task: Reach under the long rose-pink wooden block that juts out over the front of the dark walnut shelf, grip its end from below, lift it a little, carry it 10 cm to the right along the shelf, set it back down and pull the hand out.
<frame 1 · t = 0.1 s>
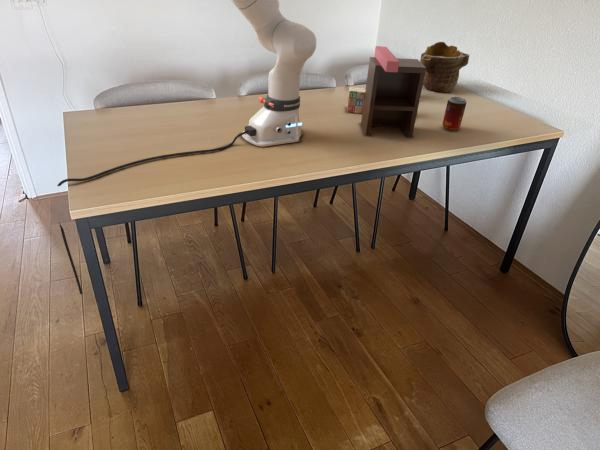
walnut shelf: (385, 130, 175), on the table
brown wicker basket: (434, 89, 226), on the table
pink block: (385, 63, 158), point 26 cm above the table, touching walnut shelf
soda can: (450, 129, 181), on the table
stack of blocks: (371, 112, 192), on the table
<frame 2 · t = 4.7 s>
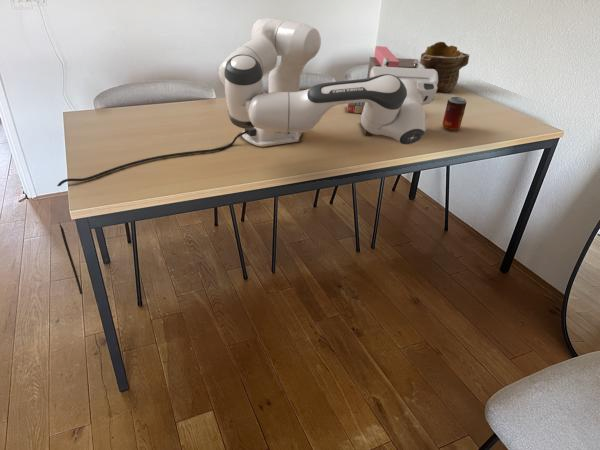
hand: (401, 60, 138), 32 cm above the table, tool pointing upward, fingers open, 8 cm apart
nothing on the table moved.
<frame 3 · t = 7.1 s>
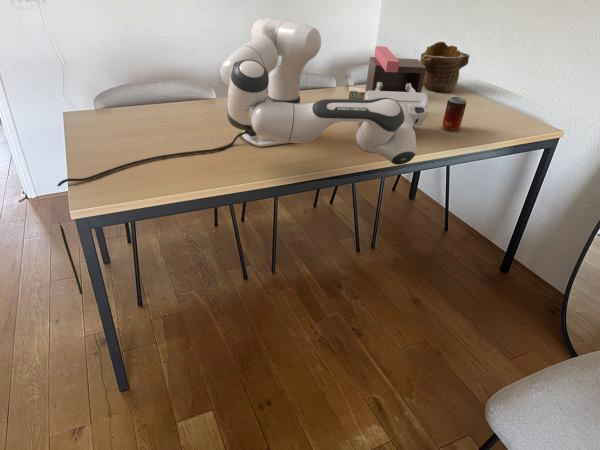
hand: (393, 84, 146), 24 cm above the table, tool pointing upward, fingers open, 8 cm apart
nothing on the table moved.
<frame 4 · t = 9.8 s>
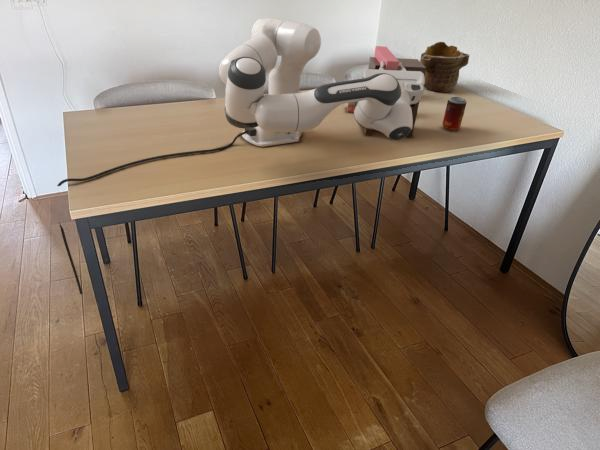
hand: (391, 63, 150), 28 cm above the table, tool pointing upward, fingers closed on pink block, 4 cm apart
pink block: (385, 63, 158), point 26 cm above the table, touching gripper
everything else where it was.
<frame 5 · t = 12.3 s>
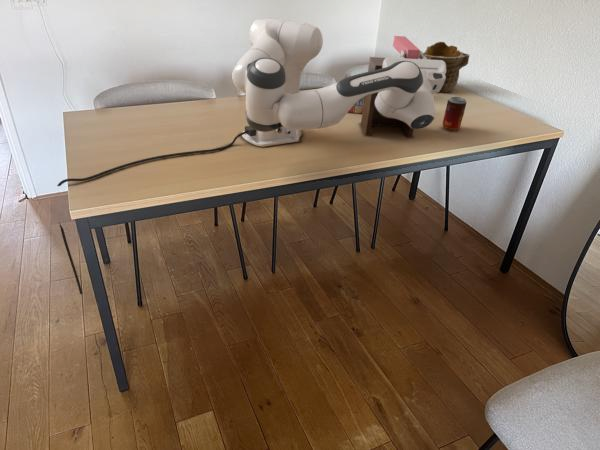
hand: (411, 52, 148), 32 cm above the table, tool pointing upward, fingers closed on pink block, 4 cm apart
pink block: (404, 53, 156), point 30 cm above the table, touching gripper
everything else where it was.
when the fingers open (28 cm above the table, at t = 14.8 s): pink block stays where it is, resting on walnut shelf.
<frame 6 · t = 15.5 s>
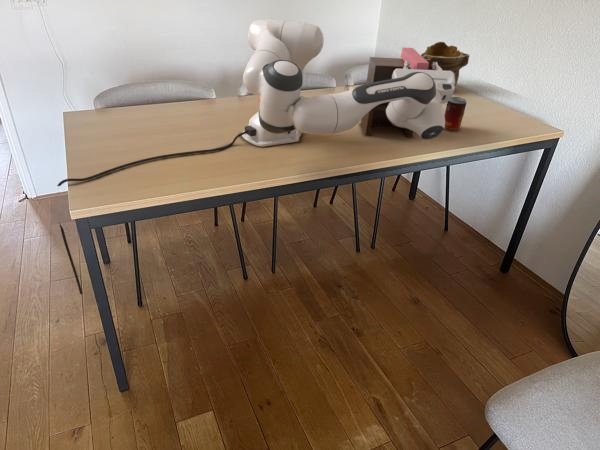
hand: (420, 62, 150), 29 cm above the table, tool pointing upward, fingers open, 8 cm apart
pink block: (413, 65, 159), point 26 cm above the table, touching walnut shelf
everything else where it was.
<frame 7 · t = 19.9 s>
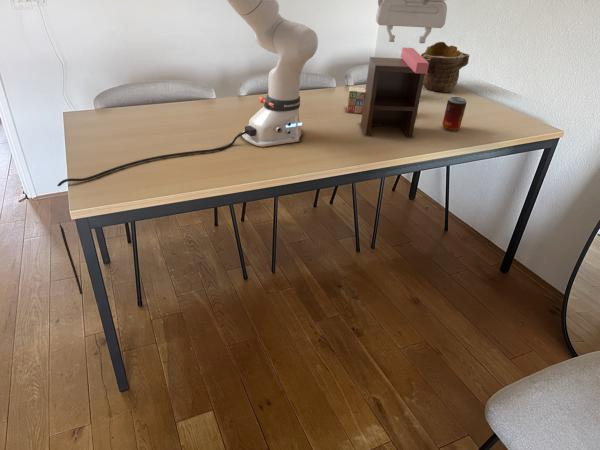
hand: (406, 42, 136), 37 cm above the table, tool pointing down, fingers open, 8 cm apart
nothing on the table moved.
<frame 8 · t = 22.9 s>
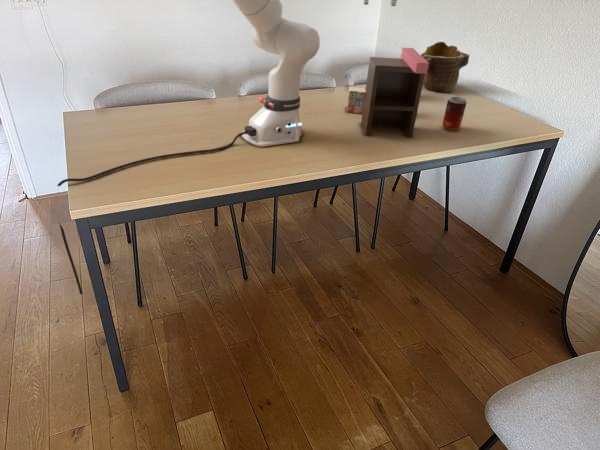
hand: (379, 5, 151), 44 cm above the table, tool pointing down, fingers open, 8 cm apart
nothing on the table moved.
at the end: pink block 0.1 cm from the target spot, point 26.0 cm above the table; pink block tilted 0°; the gripper is holding nothing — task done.
